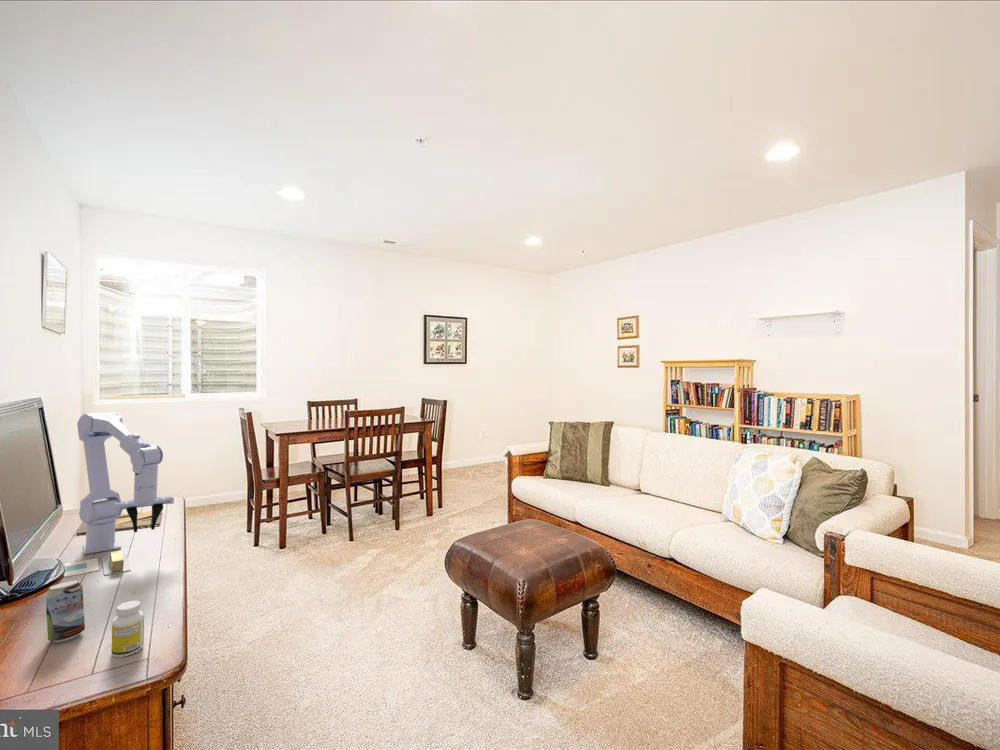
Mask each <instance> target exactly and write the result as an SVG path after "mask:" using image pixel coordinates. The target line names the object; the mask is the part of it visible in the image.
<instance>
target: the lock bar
mask: <svg viewBox="0 0 1000 750" xmlns="http://www.w3.org/2000/svg"><path fill="white" fill-rule="evenodd" d="M122 554H123V551H122V549H121V550H120V551H114V552H111V557H110V563H111V569H112V572H116V571H121V570H123V563H124V559H123V555H122Z"/></svg>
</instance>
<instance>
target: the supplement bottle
mask: <svg viewBox="0 0 1000 750" xmlns="http://www.w3.org/2000/svg"><path fill="white" fill-rule="evenodd" d="M115 614H116V616H115V617H114V618H113V619H112V623H111V655H112V656H113V657H114V656H115V658H121V657H120V656H126V655H129V654H132V653H135V652H136V651H138V652H140V651H141V650H142V649H143V647H144V644H145V643H144V641H145V638H144V637H145V636H144V635H145V613H144V612H143V611H142V610H141V601H139V600H129V601H124V602H123V603H121V604H119V605H117V607H116V612H115ZM141 648H142V649H141ZM140 649H141V650H140ZM139 650H140V651H139ZM135 654H136V653H135ZM132 655H133V654H132ZM126 657H127V656H126Z"/></svg>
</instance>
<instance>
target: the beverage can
mask: <svg viewBox="0 0 1000 750" xmlns="http://www.w3.org/2000/svg"><path fill="white" fill-rule="evenodd" d="M83 590H84V586H83V585H82V584H81V583H80V581H79V580H77V579H72V580H68V581H63V582H59V583H56V584H54V585H52V586H49V587H48V590H47V592H46V594H45V608H46V627H47V628H46V629H47V630H46V632H47V640H48V641H49V642H52V643H61V642H65V641H69V640H72V639H74V638H76V637H78V636H79V635H81V633H83V631H84V630H85V628H86V625H85V622H86V621H85V609H84V591H83Z"/></svg>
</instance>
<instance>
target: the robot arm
mask: <svg viewBox="0 0 1000 750" xmlns="http://www.w3.org/2000/svg"><path fill="white" fill-rule="evenodd" d="M76 426H77V434H78V440H79V441H82V442H83V448H84V449H83V450H84V456H85V464H86V465H85V466H86V472H87V479H88V488H89V493H88V494H87V495H86V496H84V498H82V499H81V500H80V506H79V511H78V512H79V513H78V515H79V520H81V522H82V523H83V522H84V523H86V524H87V529H86V534H85V535H86V536H85V543H84V544H83V554H84V555H89V554H95V553H101V552H105V551H107V552H108V551H110V548H112V547H118V546H117V542H116V539H115V538H116V531H115V520H116V519H118V516H120V515H122V513H123V512H124V511H123V510H126V514H129V516H130V518H131V520H132V523H133V528H134V529H133V533H137V532H138V528H137V514H138V513H139V512H138V508H144V507H151V511H152V520H151V527H150V529H151V530H155V528H156V526H155V524H156V521H157V519H158V517H159V515H160V513H161V511H162V512H163V509H164V505H172V504H174V503H175V502H174V501H175V499H174V498H175V497H174V496H172V495H171V496H161V497H160V496H159V497H157V496H158V476H159V475H158V471H159V470H158V469H159V464H161V463H162V461H163V459H164V454H163V450H162V448H161V447H160V446H159V445H153V444H152V445H151V444H150V443H148V441H146V440H145V439H144V438H143V437H142V436H141V435H140V434H139V433H132V432H130V431H129V430H128V428H127V427H126V426H125V425H124V424H123V417H122V415H120V414H119V413H118V412H117V411H113V412H102V413H101V412H100V413H99V412H98V413H83V414H81V416H80V417H79V419H78V420H77V424H76ZM112 437H114V438H115V439H116V440H118V441H119V447H120V448H121V450H123V451H124V452H125V453H126V454H127V455H128V456H129V457H130V458H129V459H130V464H131V465H132V472H133V473H134V482H133V483H134V484H133V499H132V500H131V499H130V500H127V501H122V499H121V497H120V493H119V492H117V491H115V490H113V489H111V484H110V478H109V469H108V461H107V455H106V448H105V447H106V446H105V442H106V441H107V440H108V439H110V438H112Z"/></svg>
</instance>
